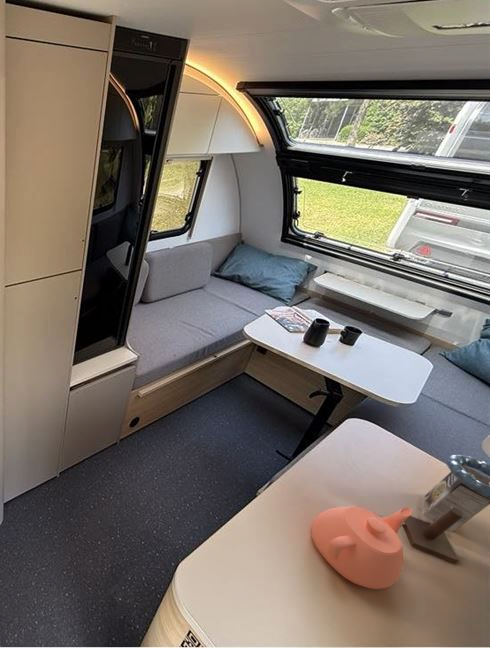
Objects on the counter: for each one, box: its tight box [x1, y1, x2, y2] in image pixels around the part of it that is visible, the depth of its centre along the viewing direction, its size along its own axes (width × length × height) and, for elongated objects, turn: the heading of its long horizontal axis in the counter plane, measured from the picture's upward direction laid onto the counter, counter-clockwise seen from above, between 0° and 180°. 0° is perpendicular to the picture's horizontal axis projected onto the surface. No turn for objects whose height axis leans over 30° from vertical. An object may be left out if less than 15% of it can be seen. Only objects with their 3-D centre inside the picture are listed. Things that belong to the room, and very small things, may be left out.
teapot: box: [310, 506, 413, 590], centre depth 86 cm, size 25×17×13 cm
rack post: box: [401, 507, 464, 564], centre depth 91 cm, size 9×9×12 cm
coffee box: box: [422, 465, 490, 533], centre depth 96 cm, size 9×6×16 cm
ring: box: [445, 454, 490, 499], centre depth 84 cm, size 12×12×2 cm
